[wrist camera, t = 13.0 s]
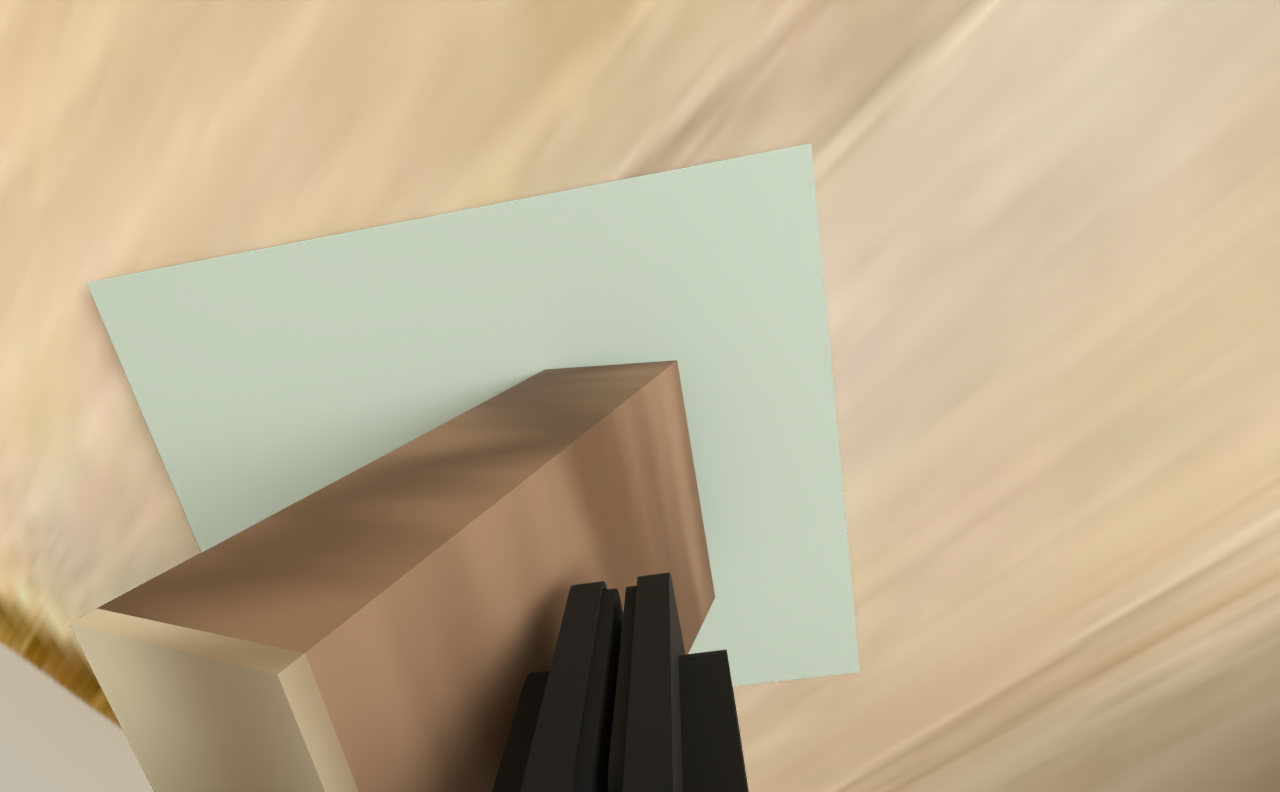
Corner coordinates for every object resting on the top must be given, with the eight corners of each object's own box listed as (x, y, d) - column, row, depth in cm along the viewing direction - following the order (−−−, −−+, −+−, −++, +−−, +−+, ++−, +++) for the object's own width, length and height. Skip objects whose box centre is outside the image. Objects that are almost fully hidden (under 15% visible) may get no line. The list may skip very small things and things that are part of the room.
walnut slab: (676, 360, 15) (277, 674, 6) (715, 597, 17) (461, 1127, 8) (544, 369, 17) (68, 623, 8) (592, 584, 19) (262, 1004, 9)
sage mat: (807, 145, 15) (810, 143, 15) (856, 663, 20) (859, 672, 19) (98, 280, 17) (86, 282, 17) (286, 728, 22) (280, 737, 21)
